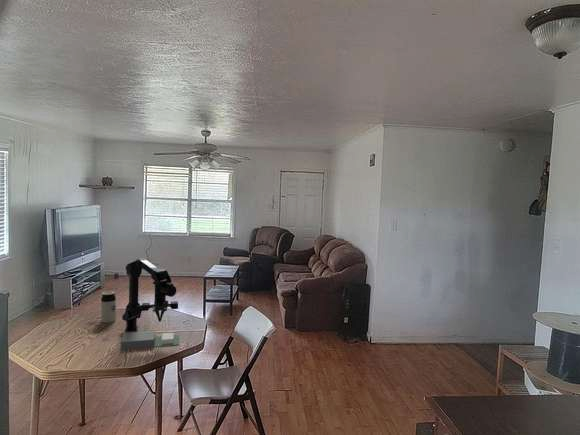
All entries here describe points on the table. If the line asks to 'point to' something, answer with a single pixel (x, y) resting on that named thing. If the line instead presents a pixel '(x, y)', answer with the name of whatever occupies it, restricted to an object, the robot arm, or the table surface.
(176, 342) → the mat
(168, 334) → the block
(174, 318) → the table surface
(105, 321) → the travel mug
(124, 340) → the grey flat box
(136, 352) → the table surface
